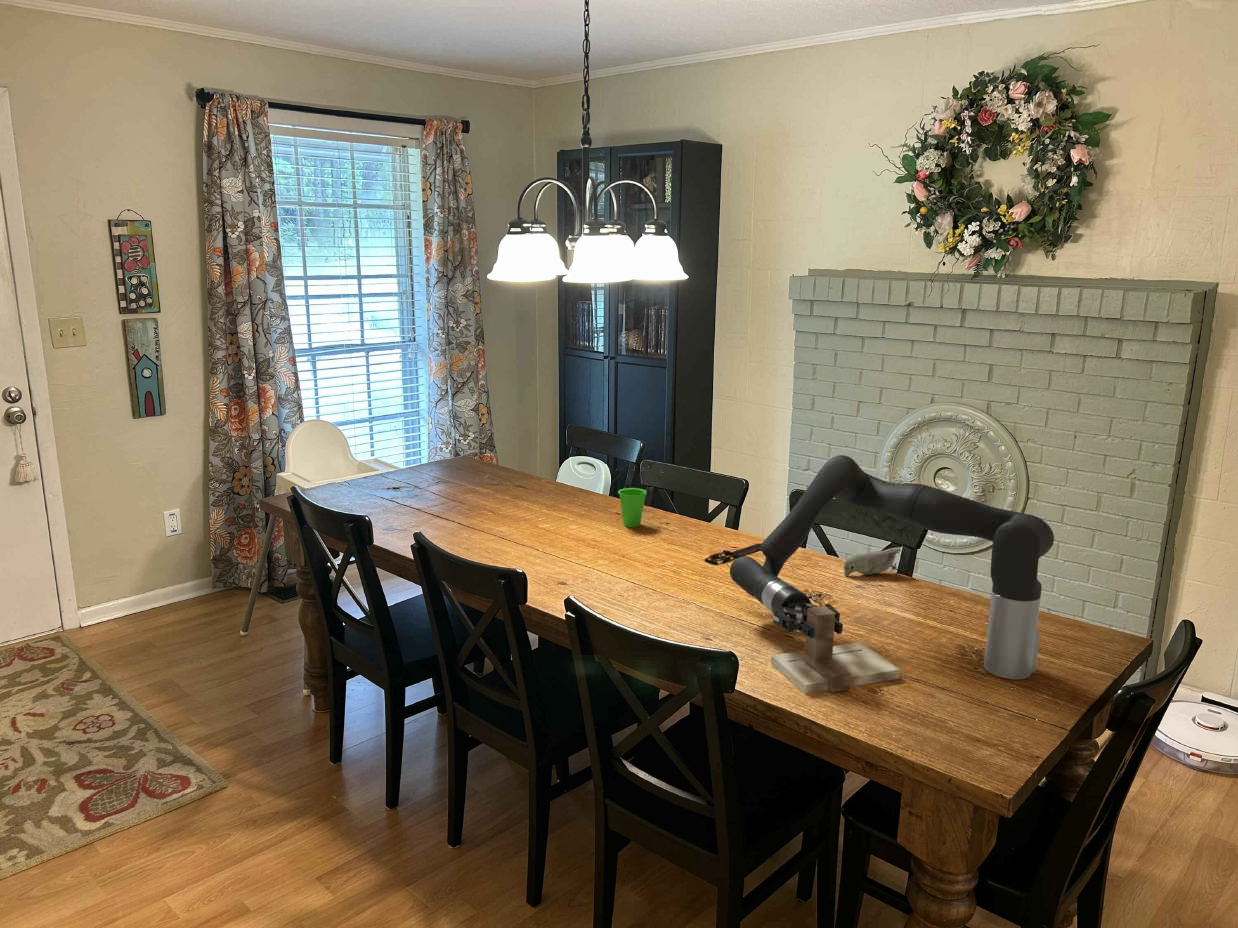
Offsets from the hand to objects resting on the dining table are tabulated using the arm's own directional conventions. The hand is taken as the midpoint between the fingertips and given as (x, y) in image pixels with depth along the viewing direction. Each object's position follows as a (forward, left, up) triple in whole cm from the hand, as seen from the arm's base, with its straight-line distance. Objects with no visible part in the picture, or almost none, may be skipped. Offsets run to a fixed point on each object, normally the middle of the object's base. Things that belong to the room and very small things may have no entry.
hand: (826, 631), depth 184 cm
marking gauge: (0, 0, -10) cm, 10 cm away
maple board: (-4, -2, -10) cm, 12 cm away
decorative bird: (-46, -50, -11) cm, 68 cm away
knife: (-19, -77, -11) cm, 80 cm away
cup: (+1, -111, -11) cm, 112 cm away
